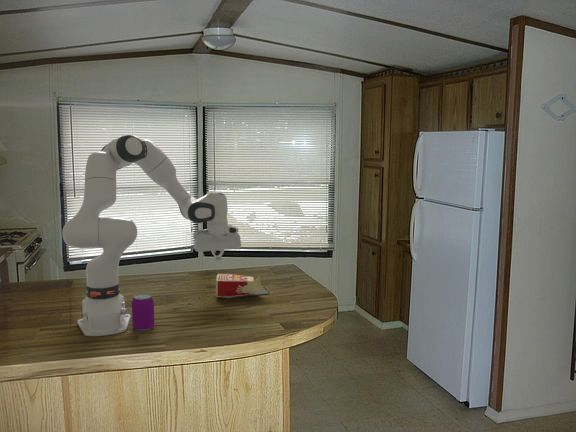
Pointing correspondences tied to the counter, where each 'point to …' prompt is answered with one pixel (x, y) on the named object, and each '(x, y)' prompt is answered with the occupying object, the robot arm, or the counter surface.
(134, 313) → the beverage can
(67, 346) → the counter surface
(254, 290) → the milk carton
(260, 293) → the mat
